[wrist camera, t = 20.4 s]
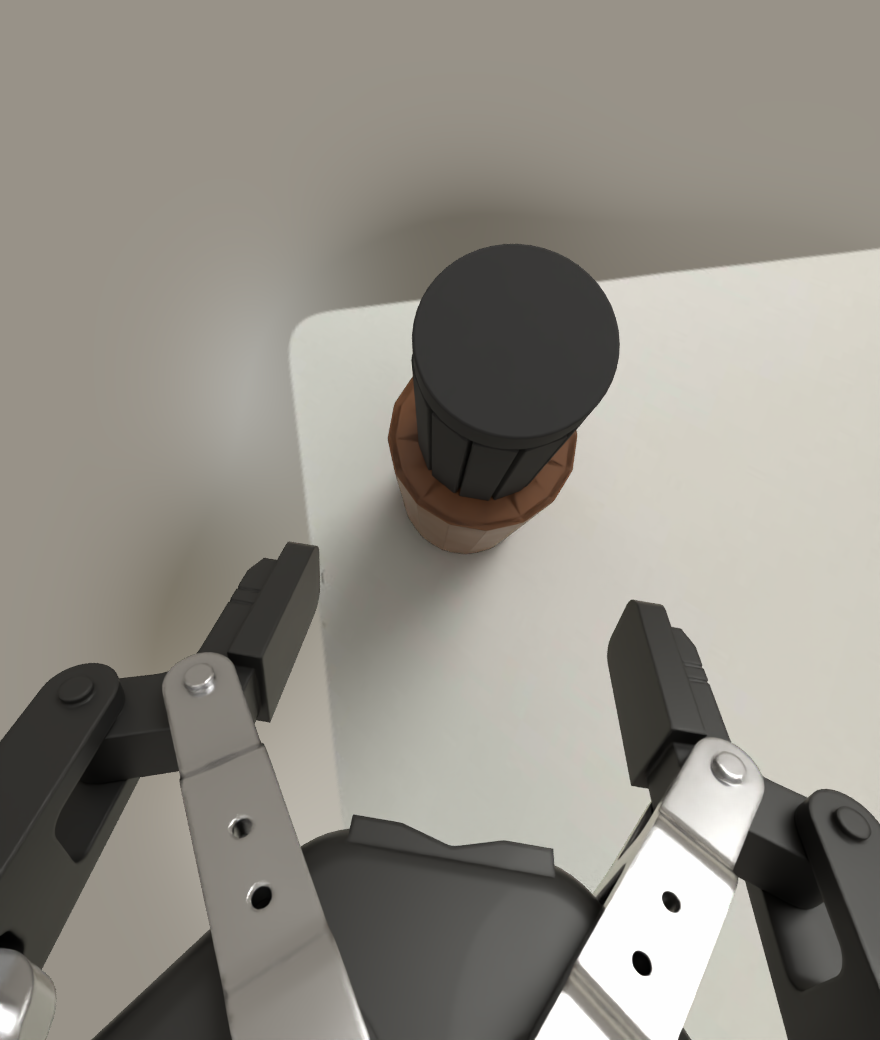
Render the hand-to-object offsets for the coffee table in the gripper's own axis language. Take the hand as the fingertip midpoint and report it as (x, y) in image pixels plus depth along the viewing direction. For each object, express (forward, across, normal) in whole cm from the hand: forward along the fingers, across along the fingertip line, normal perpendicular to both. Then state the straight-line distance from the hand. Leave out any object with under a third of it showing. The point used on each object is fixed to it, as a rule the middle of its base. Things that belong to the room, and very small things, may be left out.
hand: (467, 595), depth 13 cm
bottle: (+18, 0, +8) cm, 20 cm away
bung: (+9, 0, 0) cm, 9 cm away
